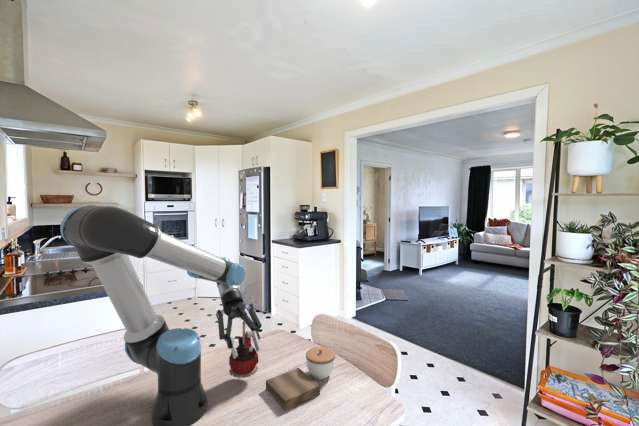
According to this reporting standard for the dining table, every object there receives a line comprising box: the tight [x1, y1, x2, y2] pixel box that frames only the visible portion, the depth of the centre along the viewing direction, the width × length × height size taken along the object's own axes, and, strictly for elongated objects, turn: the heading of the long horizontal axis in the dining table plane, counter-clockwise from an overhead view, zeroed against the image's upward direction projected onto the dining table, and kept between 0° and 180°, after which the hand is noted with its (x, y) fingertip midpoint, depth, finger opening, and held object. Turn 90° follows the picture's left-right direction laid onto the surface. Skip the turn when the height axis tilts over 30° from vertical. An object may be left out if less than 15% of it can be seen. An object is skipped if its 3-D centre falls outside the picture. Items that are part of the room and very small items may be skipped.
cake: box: [228, 320, 259, 379], centre depth 105 cm, size 11×9×18 cm
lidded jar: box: [305, 346, 336, 380], centre depth 110 cm, size 11×11×9 cm
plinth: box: [265, 367, 321, 412], centre depth 100 cm, size 13×13×3 cm
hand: (247, 353), depth 102 cm, fingers closed on cake, 8 cm apart
